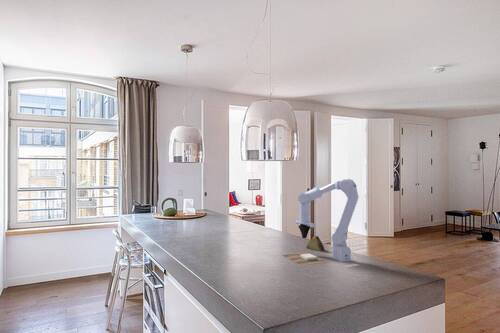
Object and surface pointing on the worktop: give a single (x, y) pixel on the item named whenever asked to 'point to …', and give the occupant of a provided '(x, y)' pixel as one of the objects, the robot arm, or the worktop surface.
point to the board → (297, 259)
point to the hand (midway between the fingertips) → (304, 238)
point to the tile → (308, 257)
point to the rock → (315, 244)
